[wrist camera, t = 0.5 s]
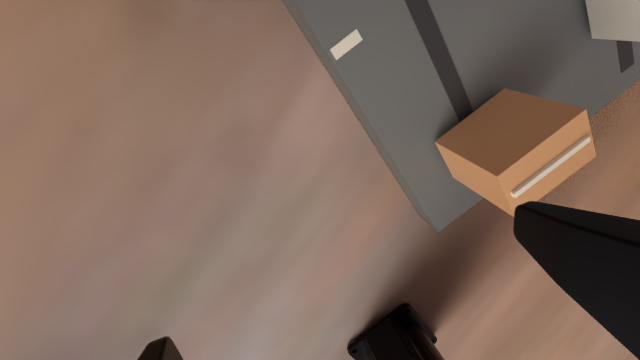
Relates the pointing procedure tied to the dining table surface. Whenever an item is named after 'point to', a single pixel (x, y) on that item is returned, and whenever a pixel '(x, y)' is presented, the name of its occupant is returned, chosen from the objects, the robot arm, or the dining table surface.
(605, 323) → the robot arm
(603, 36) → the white fader
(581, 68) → the console board
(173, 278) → the dining table surface
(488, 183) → the orange fader
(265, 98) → the dining table surface
